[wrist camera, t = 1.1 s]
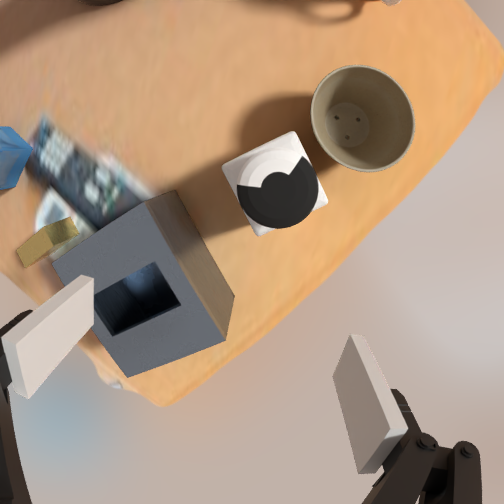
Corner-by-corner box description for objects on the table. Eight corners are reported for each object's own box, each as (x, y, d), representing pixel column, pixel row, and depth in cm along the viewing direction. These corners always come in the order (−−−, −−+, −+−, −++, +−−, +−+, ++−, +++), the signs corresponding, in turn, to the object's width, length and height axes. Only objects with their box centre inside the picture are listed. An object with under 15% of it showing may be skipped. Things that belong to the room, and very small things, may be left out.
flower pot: (404, 135, 32) (433, 132, 25) (340, 187, 34) (358, 194, 27) (350, 65, 30) (369, 46, 23) (282, 115, 32) (286, 104, 25)
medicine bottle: (317, 194, 35) (343, 212, 23) (258, 223, 36) (255, 254, 24) (288, 135, 33) (301, 123, 21) (228, 164, 34) (210, 167, 22)
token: (42, 238, 37) (16, 250, 31) (70, 216, 36) (43, 226, 30) (51, 254, 38) (25, 268, 32) (79, 233, 37) (53, 246, 31)
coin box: (96, 238, 37) (51, 263, 27) (175, 190, 35) (143, 201, 25) (153, 332, 40) (127, 377, 30) (234, 296, 38) (225, 340, 28)
